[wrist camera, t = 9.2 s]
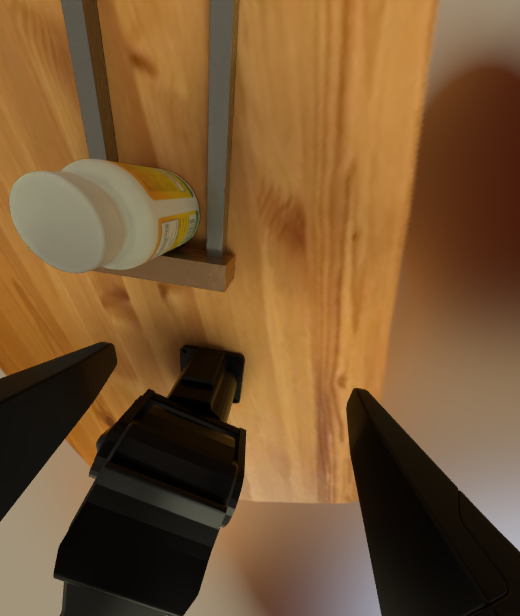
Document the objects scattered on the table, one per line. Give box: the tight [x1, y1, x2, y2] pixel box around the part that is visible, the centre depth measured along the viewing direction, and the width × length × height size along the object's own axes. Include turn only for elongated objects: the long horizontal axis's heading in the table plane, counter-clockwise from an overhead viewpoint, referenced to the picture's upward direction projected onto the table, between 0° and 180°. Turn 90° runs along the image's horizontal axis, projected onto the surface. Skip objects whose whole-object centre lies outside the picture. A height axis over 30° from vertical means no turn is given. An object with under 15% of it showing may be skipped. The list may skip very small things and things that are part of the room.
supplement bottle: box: [9, 159, 200, 273], centre depth 14 cm, size 5×5×10 cm
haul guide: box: [61, 0, 239, 292], centre depth 15 cm, size 19×11×3 cm, turn 173°
